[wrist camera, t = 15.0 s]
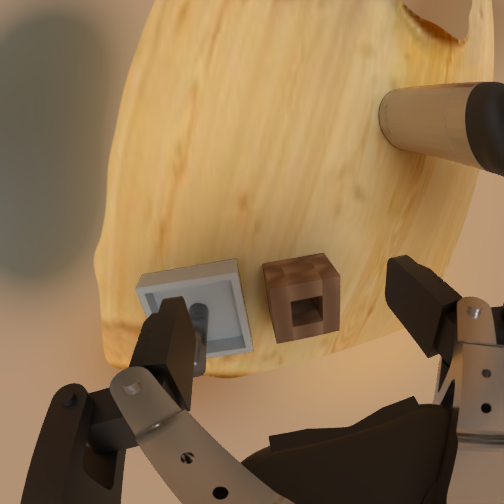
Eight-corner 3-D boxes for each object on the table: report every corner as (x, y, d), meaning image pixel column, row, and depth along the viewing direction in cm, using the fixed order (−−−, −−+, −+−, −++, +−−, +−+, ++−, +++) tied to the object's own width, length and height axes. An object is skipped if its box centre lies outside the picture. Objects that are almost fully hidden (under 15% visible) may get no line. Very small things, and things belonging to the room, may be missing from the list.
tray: (236, 258, 41) (237, 271, 37) (251, 334, 47) (253, 351, 43) (142, 274, 41) (135, 288, 37) (169, 346, 46) (166, 362, 43)
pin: (206, 301, 42) (201, 358, 31) (210, 317, 43) (208, 375, 32) (186, 304, 42) (176, 361, 31) (191, 320, 43) (184, 378, 32)
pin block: (323, 252, 42) (340, 275, 35) (325, 303, 45) (339, 330, 39) (262, 263, 42) (269, 289, 35) (270, 314, 45) (276, 343, 39)
